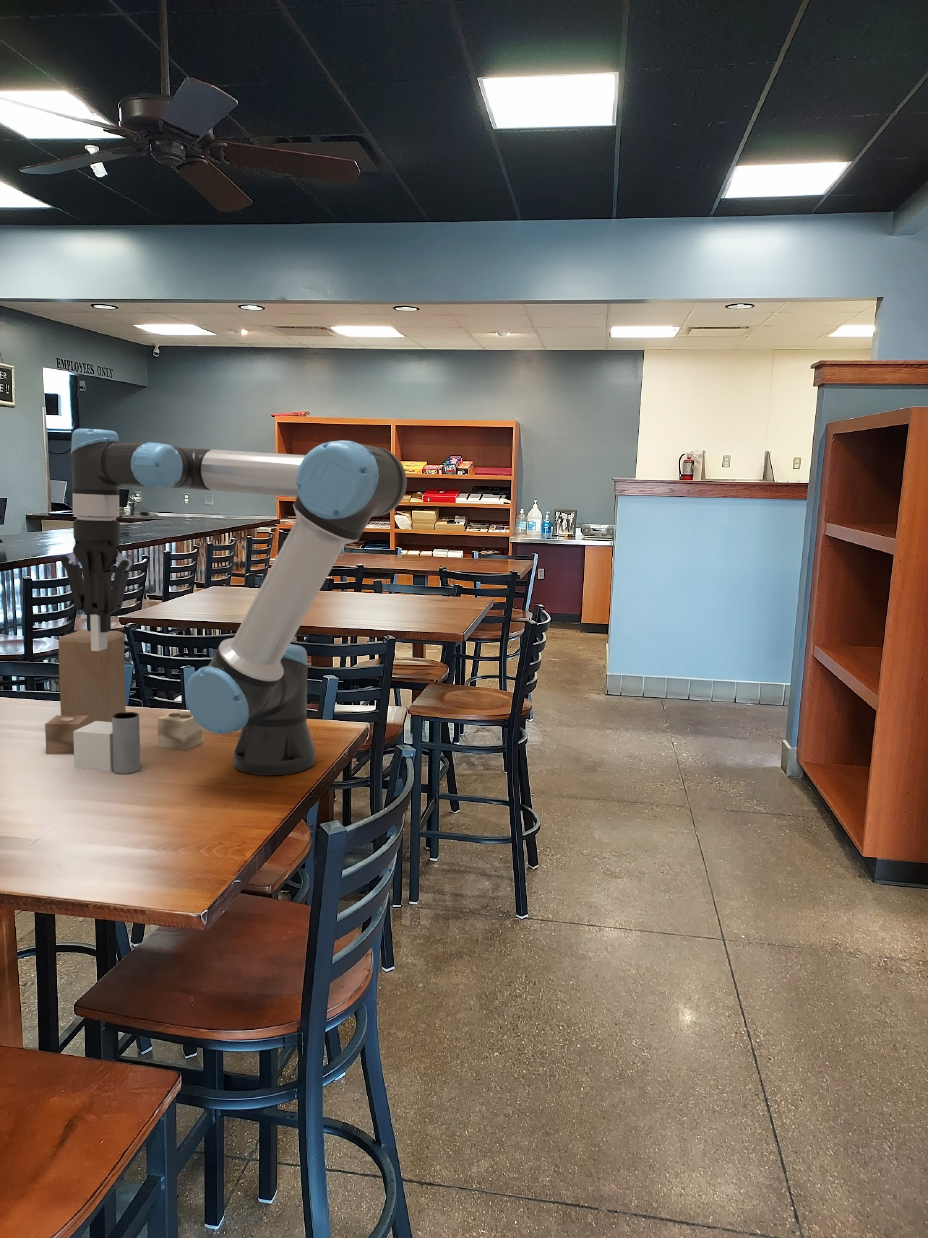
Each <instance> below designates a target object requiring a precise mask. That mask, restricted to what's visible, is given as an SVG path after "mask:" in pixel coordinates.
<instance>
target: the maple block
mask: <svg viewBox="0 0 928 1238" xmlns="http://www.w3.org/2000/svg"><path fill="white" fill-rule="evenodd" d="M202 743H203V727H202V726H201V725H199V724H198V723H197V722H196V720H195V719H194V718H193V716H192V715H191V713H190V711H187V712H186V711H181V710H175V711H172V712H169V713H168V714H165V715H162V716H159V717H157V747H158V748H163V749H169V750H176V751H181V752H184V751H187V750H188V749H191V748H194V747H195V746H197V745H200V744H202Z"/></svg>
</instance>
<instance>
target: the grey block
mask: <svg viewBox="0 0 928 1238" xmlns="http://www.w3.org/2000/svg"><path fill="white" fill-rule="evenodd" d="M73 736H74V754H73V757H74V758H73V760H74V761H73V762H74V769H81V770H89V771H91V770H92V771H103V772H113V742H112V722H103V721H95V722H93V723H90V724H88V725H86V726H84V727H82V728H79V729H77V730H75V731H73Z"/></svg>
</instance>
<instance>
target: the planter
mask: <svg viewBox="0 0 928 1238" xmlns="http://www.w3.org/2000/svg"><path fill="white" fill-rule="evenodd" d="M140 729H141V728H140V714H139V712H135V711H126V712H121V713H116V714H114V715H112V742H113V770H112V772H113V773H115V774H118V775H127V774H134V773H137V772H138V771H139V770H140V769H141V742H140V740H141V739H140V737H141V734H140V733H141V732H140Z"/></svg>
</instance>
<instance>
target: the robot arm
mask: <svg viewBox="0 0 928 1238" xmlns="http://www.w3.org/2000/svg"><path fill="white" fill-rule="evenodd" d="M70 446H71V448H70V452H69V453H70V457H71V458H70V459H71V475H72V477H71V479H72V480H71V481H72V515H73V516H74V517H76V519H74V521H72V523H73V525H72V529H73V530H72V531H73V539H74V541H75V542H74V545H73V548H72V552H70V553H69V554H67V555H65V556H61V557H60V560H59V561H60V562H61V564H62V566H63V567H64V569H65V571H66V574H67V578H68V583H69V588H70V591H71V595H72V599H73V602H74V607H75V609H76V611H82V612H84V613H85V616H86V617H85V618H86V630H88V631H91V651H101V650H104V649H107V632H109V631H112V630H111V629H112V618H111V617H112V613H115V612H118V611H120V610H122V606H123V602H124V597H125V593H126V587H127V583H128V578H129V573H130V571H131V570H132V568H133V566H134V565H135V561H134V559H133V558H127V557H126V556H125V555H124V554H122V553H123V552H122V548H121V547H120V539H121V529H120V528H121V527H120V525H121V524H120V522H119V520H117V518H119V517H120V487H133V488H147V489H152V490H155V489H157V490H158V489H184V490H187V489H188V490H197V491H215V492H227V493H228V492H229V493H238V494H251V495H262V496H273V497H284V498H285V497H287V498H296V499H295V500H294V503H293V504H292V507H293V509H294V513H295V516H296V520H295V522H294V523H293V525H292V528H291V529H290V531H289V533H288V535H287V537H286V538H285V540H284V542H283V545H282V546H281V549H280V550H279V552H278V553H277V556H276V557H275V559H274V561H273V563H272V565H271V567H270V569H269V570H268V573H267V574H266V577H265V578H264V580H263V582H262V583H261V585H260V588H259V590H258V592H257V593H256V596H255V597H254V599H253V601H252V603H251V604H250V606H249V609H248V611H247V612H246V614H245V616H244V618H243V620H242V622H241V623H240V625H239V627H238V629H237V631H236V633H235V634H234V637H231V638H226V639H224V640H222V641H221V642H220V644H219V645H218V648H217V649H216V651H215V653H214V655H213V657H212V658H211V661H210V663H209V664H208V665H207V666H202V667H200V668H198V670H196V671H195V672H193V673H192V674H191V675H190V677H189V678H188V680H187V682H186V687H185V694H184V695H185V701H186V704H187V705H188V707H189V709H188V710H189V711H188V712H189V713H191V715H192V716H193V718H194V719H195V720H196V722H197V723H198V724H199V725H201V726H202V729H205V730H206V731H208V732H211V733H213V734H220V735H224V734H229V733H232V732H237V731H240V733H239V737H238V739H237V742H236V745H235V749H234V753H233V766H234V767H235V769H237V770H239V771H240V772H243V773H247V774H250V775H251V774H252V775H257V776H282V775H283V776H285V775H290V774H295V773H300V772H303V771H306V770H308V769H310V768H312V767H313V766H314V765H315V764H316V753H317V751H316V748H315V744H314V741H313V739H312V736H311V732H310V729H309V726H308V722H307V721H308V720H307V716H308V715H307V711H308V710H307V709H308V708H307V707H308V668H309V664H308V654H307V650H306V648H305V647H303V646H301V645H297V644H293V643H291V642H292V641H293V639H294V637H295V635H296V634H297V632H298V630H299V628H300V626H301V624H302V623H303V620H304V619H305V617H306V616H307V613H308V611H309V610H310V608H311V607H312V605H313V604H314V603H313V602H314V601H315V600H316V598H317V596H318V593H319V592H320V591H321V588H322V587H323V585H324V583H325V581H326V580H327V577H328V576H329V574H330V573H331V571H332V568H333V567H334V565H335V563H336V561H337V560H338V558H339V556H340V554H341V552H342V551H343V548H344V547H345V546H346V545H347V544H351V543H354V542H355V543H356V542H357V541H359V540H360V538H361V536H362V535H363V532H364V531H365V529H366V527H367V525H368V523H369V522H370V520H371V519H372V518H373V517H374V518H375V517H381V516H384V515H386V514H388V513H390V512H392V511H394V510H395V509H396V508H397V507H398V506H399V505H400V503H402V500H403V499H404V496H405V494H406V490H407V485H408V484H407V481H408V480H407V475H406V470H405V467H404V465H403V463H402V461H400V459H399V458H398V457H397V456H396V455H395V454H394V453H393V452H391V451H389V450H388V449H386V448H384V447H380V446H375V445H368V444H362V443H357V442H355V441H352V440H342V439H341V440H335V441H334V440H333V441H328V442H324V443H321V444H319V445H317V446H315V447H314V448H312V449H311V450H310V451H309V452H308V453H306V454H291V453H276V452H262V451H260V452H258V451H246V450H245V451H243V450H242V451H240V450H229V449H228V450H225V449H210V448H198V447H196V448H195V447H183V446H182V447H181V446H173V445H171V444H167V443H161V442H153V441H152V442H150V441H148V442H122V441H120V440H119V435H118V433H117V432H116V431H115V430H108V429H97V428H94V429H93V428H77V429H75V430H73V431H72V435H71V444H70ZM80 565H81V567H80ZM114 566H116V569H115V572H114ZM113 575H114V577H113V581H112V576H113Z"/></svg>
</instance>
